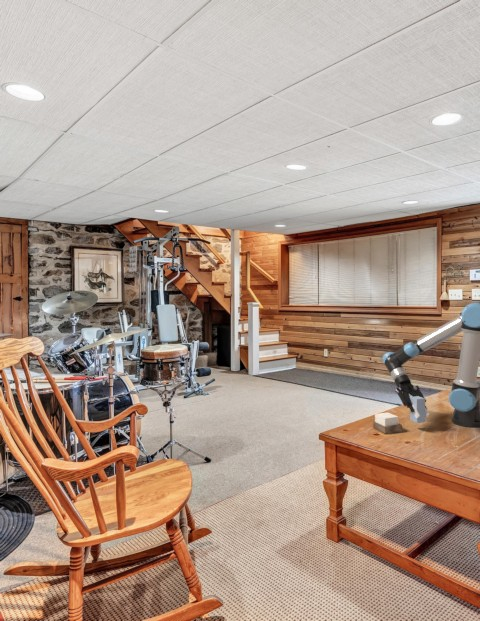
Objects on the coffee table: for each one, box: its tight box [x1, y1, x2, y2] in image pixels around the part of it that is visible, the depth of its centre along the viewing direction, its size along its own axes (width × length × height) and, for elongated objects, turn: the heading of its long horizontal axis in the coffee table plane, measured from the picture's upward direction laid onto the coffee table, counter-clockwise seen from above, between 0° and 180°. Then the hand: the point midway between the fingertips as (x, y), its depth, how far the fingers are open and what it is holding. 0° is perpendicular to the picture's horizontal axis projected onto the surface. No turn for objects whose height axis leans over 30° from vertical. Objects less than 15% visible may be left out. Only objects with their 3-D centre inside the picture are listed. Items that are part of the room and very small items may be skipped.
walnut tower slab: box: [372, 420, 403, 435], centre depth 211 cm, size 10×10×4 cm
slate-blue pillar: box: [409, 396, 426, 424], centre depth 210 cm, size 5×5×12 cm
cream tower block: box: [374, 411, 399, 426], centre depth 211 cm, size 8×8×4 cm
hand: (422, 416), depth 207 cm, fingers closed on slate-blue pillar, 5 cm apart
